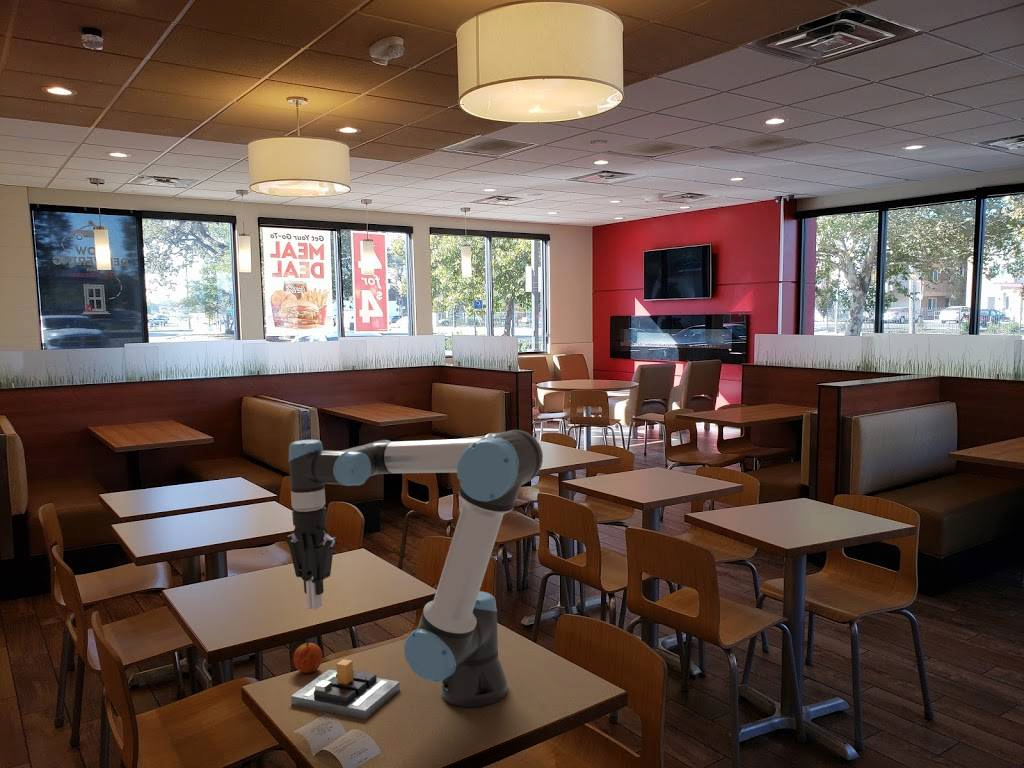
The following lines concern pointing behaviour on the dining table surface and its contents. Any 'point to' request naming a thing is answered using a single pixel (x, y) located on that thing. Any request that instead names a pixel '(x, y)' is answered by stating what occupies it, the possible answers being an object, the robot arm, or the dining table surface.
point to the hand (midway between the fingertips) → (314, 607)
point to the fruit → (307, 657)
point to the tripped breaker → (345, 671)
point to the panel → (346, 707)
